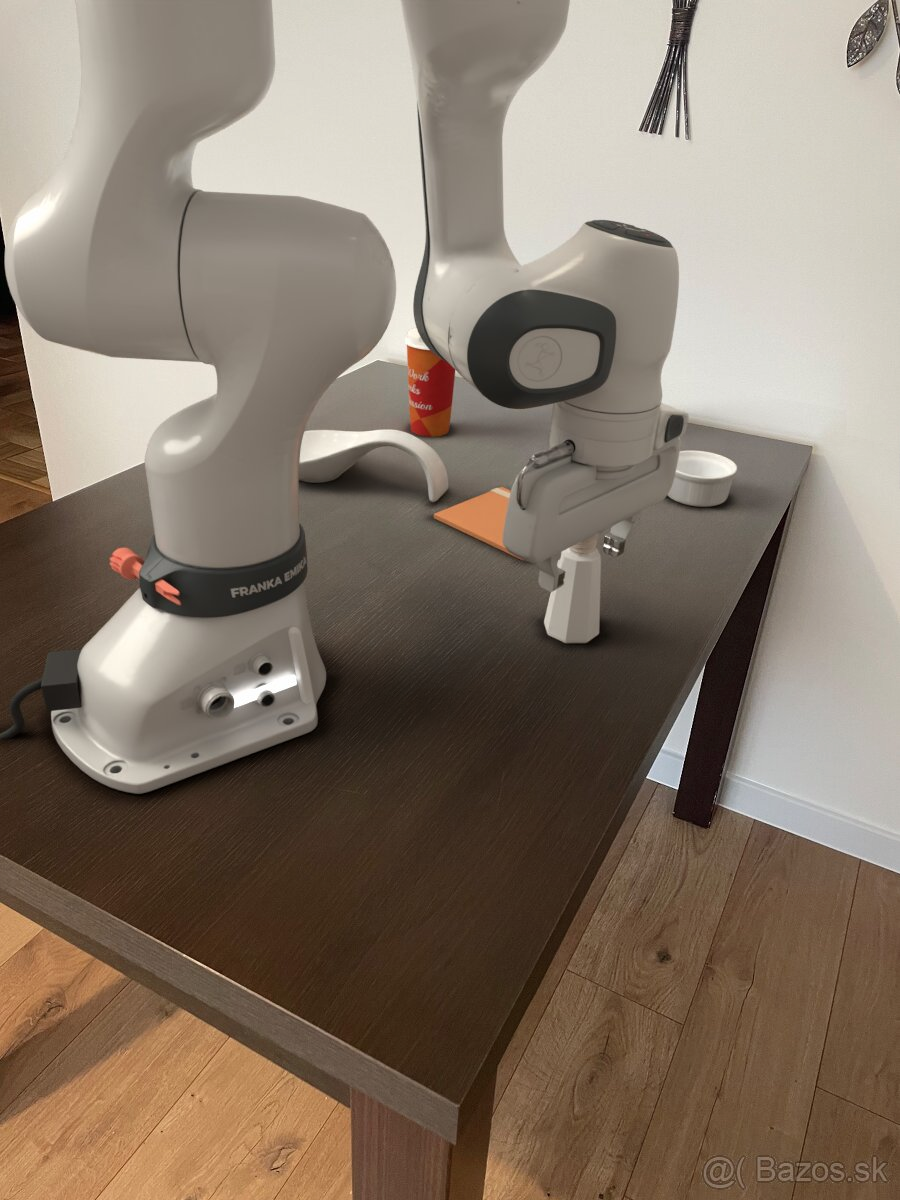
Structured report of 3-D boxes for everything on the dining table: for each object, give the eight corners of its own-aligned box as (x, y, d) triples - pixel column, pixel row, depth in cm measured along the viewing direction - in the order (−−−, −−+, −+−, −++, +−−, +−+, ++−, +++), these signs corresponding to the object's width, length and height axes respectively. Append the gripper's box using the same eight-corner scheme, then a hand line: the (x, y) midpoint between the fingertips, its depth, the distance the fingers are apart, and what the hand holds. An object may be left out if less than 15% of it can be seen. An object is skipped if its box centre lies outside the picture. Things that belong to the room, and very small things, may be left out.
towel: (523, 561, 100) (524, 555, 100) (433, 518, 108) (433, 512, 108) (590, 528, 108) (591, 523, 107) (501, 490, 116) (501, 485, 116)
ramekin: (698, 515, 112) (705, 483, 110) (645, 490, 118) (650, 458, 116) (745, 499, 116) (752, 468, 114) (691, 475, 122) (697, 445, 120)
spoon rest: (249, 482, 115) (245, 427, 111) (294, 450, 125) (291, 399, 121) (426, 516, 109) (428, 459, 105) (459, 480, 118) (461, 426, 114)
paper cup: (397, 422, 135) (398, 326, 128) (447, 418, 137) (450, 324, 130) (411, 441, 129) (413, 341, 122) (463, 437, 131) (468, 339, 124)
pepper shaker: (537, 637, 87) (548, 534, 82) (550, 609, 92) (561, 509, 86) (593, 649, 86) (608, 545, 80) (603, 620, 90) (618, 519, 85)
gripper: (552, 473, 69) (535, 625, 77) (700, 411, 82) (673, 547, 89) (491, 447, 73) (481, 595, 80) (641, 392, 85) (620, 524, 93)
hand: (583, 569), depth 85 cm, fingers open, 8 cm apart
